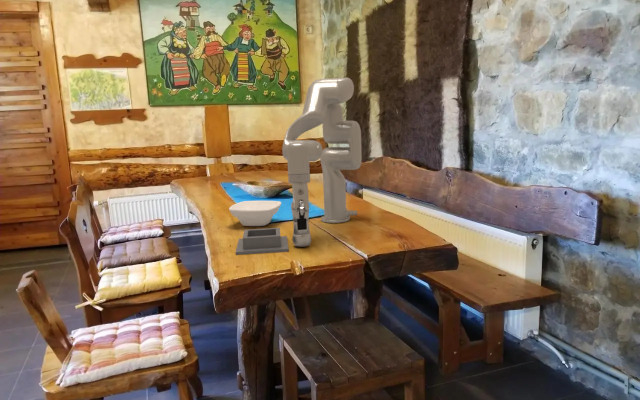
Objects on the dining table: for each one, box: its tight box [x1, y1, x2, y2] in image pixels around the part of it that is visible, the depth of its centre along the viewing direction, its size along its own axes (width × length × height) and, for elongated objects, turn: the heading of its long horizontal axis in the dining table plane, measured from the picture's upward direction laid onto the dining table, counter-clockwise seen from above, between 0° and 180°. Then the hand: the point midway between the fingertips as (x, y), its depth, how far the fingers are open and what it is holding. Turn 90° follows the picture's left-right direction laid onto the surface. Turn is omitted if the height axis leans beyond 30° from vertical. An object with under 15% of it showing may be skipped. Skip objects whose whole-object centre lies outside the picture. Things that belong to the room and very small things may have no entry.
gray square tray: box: [235, 227, 290, 256], centre depth 171 cm, size 18×17×5 cm
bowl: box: [228, 200, 282, 227], centre depth 204 cm, size 21×21×9 cm
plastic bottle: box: [290, 191, 312, 248], centre depth 168 cm, size 6×7×20 cm
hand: (301, 226), depth 169 cm, fingers open, 9 cm apart
